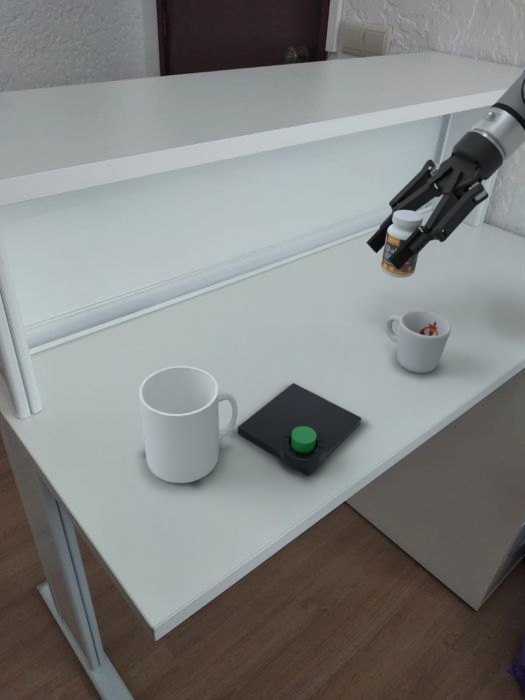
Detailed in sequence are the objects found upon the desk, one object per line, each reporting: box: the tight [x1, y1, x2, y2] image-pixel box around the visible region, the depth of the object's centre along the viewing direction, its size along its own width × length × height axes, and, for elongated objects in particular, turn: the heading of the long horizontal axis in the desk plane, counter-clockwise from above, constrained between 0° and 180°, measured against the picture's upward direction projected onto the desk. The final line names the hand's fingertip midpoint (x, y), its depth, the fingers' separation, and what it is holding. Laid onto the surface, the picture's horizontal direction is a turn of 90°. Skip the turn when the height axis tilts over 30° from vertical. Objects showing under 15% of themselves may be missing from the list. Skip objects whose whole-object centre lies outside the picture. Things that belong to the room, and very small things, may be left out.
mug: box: [138, 365, 238, 484], centre depth 73 cm, size 10×12×12 cm
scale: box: [237, 382, 362, 477], centre depth 80 cm, size 12×14×3 cm
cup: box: [385, 309, 452, 374], centre depth 94 cm, size 11×8×8 cm
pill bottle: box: [380, 210, 424, 279], centre depth 95 cm, size 6×6×10 cm
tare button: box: [291, 426, 317, 453], centre depth 75 cm, size 3×3×2 cm
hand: (382, 255), depth 94 cm, fingers closed on pill bottle, 6 cm apart
